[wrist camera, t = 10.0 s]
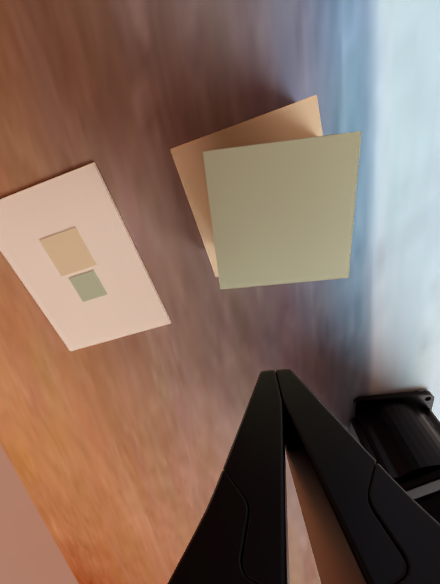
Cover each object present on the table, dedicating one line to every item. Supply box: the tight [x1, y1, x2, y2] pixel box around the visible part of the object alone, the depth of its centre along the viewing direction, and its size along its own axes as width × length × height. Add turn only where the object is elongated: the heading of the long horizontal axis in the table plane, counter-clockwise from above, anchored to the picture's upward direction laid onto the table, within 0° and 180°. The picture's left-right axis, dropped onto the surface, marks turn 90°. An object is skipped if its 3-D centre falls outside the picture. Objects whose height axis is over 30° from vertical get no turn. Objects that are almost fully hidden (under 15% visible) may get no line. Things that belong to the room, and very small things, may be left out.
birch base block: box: [170, 95, 323, 277], centre depth 17 cm, size 7×7×4 cm
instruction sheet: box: [0, 162, 171, 351], centre depth 21 cm, size 9×12×1 cm
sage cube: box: [203, 131, 361, 290], centre depth 13 cm, size 5×5×5 cm
